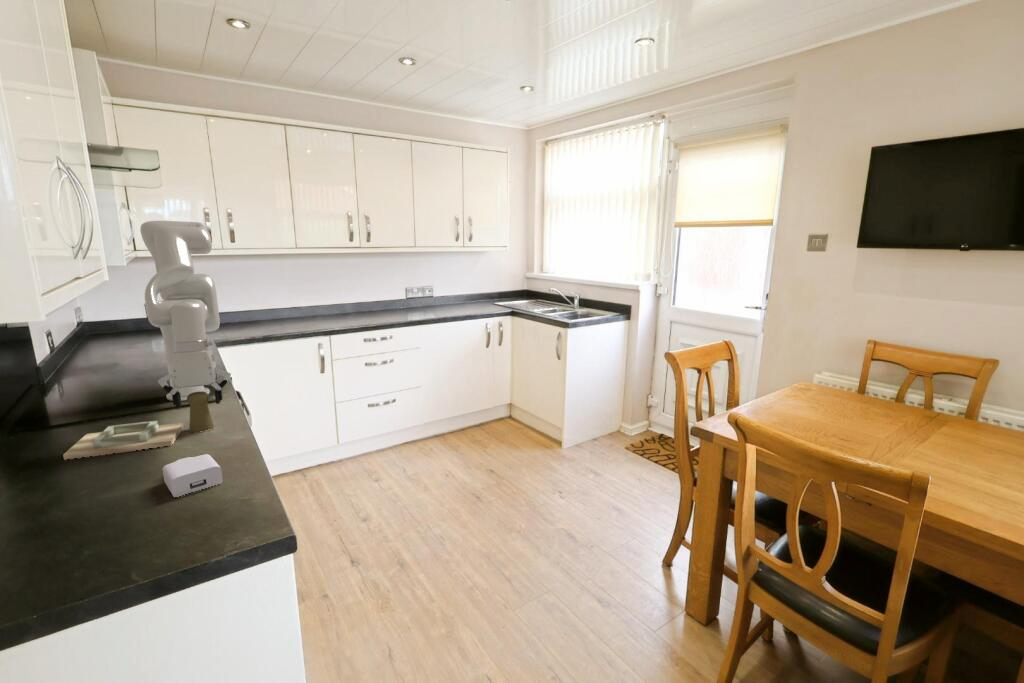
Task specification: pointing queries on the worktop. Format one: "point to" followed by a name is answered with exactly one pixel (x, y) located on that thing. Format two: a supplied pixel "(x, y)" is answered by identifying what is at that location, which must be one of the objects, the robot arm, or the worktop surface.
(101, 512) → the worktop surface
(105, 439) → the socket board
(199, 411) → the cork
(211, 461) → the charger
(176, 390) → the robot arm
